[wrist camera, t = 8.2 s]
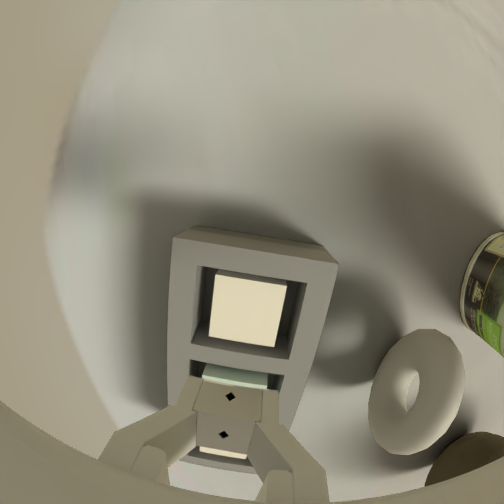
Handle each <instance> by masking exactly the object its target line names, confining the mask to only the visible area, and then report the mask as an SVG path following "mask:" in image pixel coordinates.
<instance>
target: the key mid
mask: <svg viewBox="0 0 504 504" xmlns="http://www.w3.org/2000/svg"><path fill="white" fill-rule="evenodd" d="M202 378H203V379H208V380H213V381H217V382H222V383H227V384H232V385H238V386H244V387H251V388H258V389H267V379H268V373H265V372H258V371H251V370H244V369H238V368H232V367H227V366H221V365H216V364H211V363H206V366H205V369H204V371H203V374H202Z"/></svg>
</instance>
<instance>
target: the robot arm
mask: <svg viewBox="0 0 504 504" xmlns="http://www.w3.org/2000/svg"><path fill="white" fill-rule="evenodd" d="M196 446H201V447H206V448H212V449H218V450H223V451H229V452H234V453H240V454H246V455H247V457H248V459H249V461H250V462H251V464H252V466H253V467H254V469H255V471H256V472H257V474H258V476H259V477H260V479H261V481H262V482H263V485H262V487H261V489H260V491H259V494H258V496H257V498H256V500H255V501H250V500H241V499H233V498H227V497H220V496H214V495H209V494H204V493H199V492H194V491H190V490H186V489H181V488H177V487H174V486H170V482H169V475H168V467H170V466H171V465H173V464H174V463H175V462H177V461H178V460H179V459H181V458H182V457H183V456H184V455H186V454H187V453H188V452H190V451H191V450H192V449H193V448H195V447H196ZM0 504H504V457H502V458H500V459H498V460H496V461H493V462H491V463H489V464H487V465H485V466H482V467H480V468H478V469H475V470H473V471H470V472H468V473H465V474H463V475H460V476H457V477H454V478H452V479H449V480H446V481H443V482H439V483H436V484H433V485H429V486H426V487H422V488H418V489H414V490H410V491H406V492H402V493H397V494H392V495H387V496H381V497H375V498H368V499H361V500H352V501H341V502H329V494H328V486H327V479H326V471H325V470H324V469H323V467H322V466H321V465H320V464H319V463H318V462H317V461H316V460H315V459H314V458H313V457H312V456H311V455H310V454H309V453H308V452H307V451H306V450H305V449H304V447H303V446H302V445H301V444H300V443H299V442H298V441H297V440H296V439H295V438H294V436H293V435H292V434H291V433H290V432H289V431H288V430H287V429H286V427H285V426H284V425H279V399H278V391H277V390H269V389H258V388H251V387H244V386H238V385H232V384H227V383H222V382H217V381H213V380H208V379H203V378H199V377H194V376H190V375H189V376H188V377H187V379H186V381H185V384H184V386H183V388H182V391H181V393H180V395H179V398H178V400H177V402H176V405H175V406H172V405H170V406H168V407H166V408H164V409H162V410H160V411H158V412H156V413H154V414H152V415H150V416H148V417H146V418H144V419H142V420H140V421H137V422H135V423H133V424H131V425H129V426H127V427H124V428H122V429H120V430H118V431H115V432H114V434H113V435H112V437H111V439H110V440H109V442H108V444H107V445H106V447H105V449H104V450H103V452H102V454H101V455H100V457H99V459H95V458H93V457H91V456H89V455H87V454H85V453H83V452H81V451H79V450H77V449H75V448H73V447H71V446H69V445H67V444H65V443H64V442H62V441H60V440H58V439H56V438H55V437H53V436H51V435H50V434H48V433H46V432H44V431H43V430H41V429H40V428H38V427H37V426H35V425H34V424H32V423H31V422H29V421H28V420H26V419H25V418H23V417H22V416H20V415H19V414H17V413H16V412H15V411H13V410H12V409H11V408H9V407H8V406H7V405H5V404H4V403H3V402H1V401H0Z"/></svg>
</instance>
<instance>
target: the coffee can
mask: <svg viewBox="0 0 504 504" xmlns="http://www.w3.org/2000/svg"><path fill="white" fill-rule="evenodd" d="M460 311H461V316H462V319H463V322H464V324H465V325H466V327H467V328H469V329H470V330H471V331H473V332H475V333H476V334H477V335H478V336H480V337H481V338H482V339H483V340H484V341H486V342H487V343H488V344H489V345H490V346H491V347H493V348H494V349H495V350H496V351H497V352H498V353H499V354H501V355H502V356H503V357H504V232H498V233H495V234H493V235H491V236H489V237H488V238H487V239H486V240H485V241H484V242H483V243H482V244H481V245H480V246H479V247H478V249H477V251H476V252H475V253H474V255H473V257H472V259H471V261H470V263H469V265H468V267H467V270H466V273H465V276H464V279H463V283H462V287H461V294H460Z"/></svg>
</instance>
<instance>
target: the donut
mask: <svg viewBox="0 0 504 504" xmlns="http://www.w3.org/2000/svg"><path fill="white" fill-rule="evenodd" d="M417 373H418V374H419V378H420V385H419V392H418V395H417V398H416V401H415V403H414V405H413V407H412V409H411V410H410V411H409V412H408V411H407V405H406V400H407V393H408V390H409V387H410V384H411V382H412V380H413V378H414V377H415V375H416V374H417ZM464 381H465V370H464V365H463V361H462V356H461V353H460V352H459V350H458V349H457V347H456V345H455V344H454V342H453V341H452V339H451V338H450V337H448V336H446V335H445V334H443V333H441V332H439V331H438V330H436V329H418V330H415V331H413V332H411V333H409V334H407V335H405V336H403V337H402V338H401V339H400V340H399V341H398V342H397V343H396V344H395V345H394V346H393V347H391V348H390V350H389V351H388V353H387V354H386V356H385V357H384V359H383V360H382V362H381V364H380V366H379V368H378V370H377V372H376V375H375V378H374V381H373V384H372V387H371V392H370V397H369V403H368V420H369V425H370V430H371V433H372V435H373V436H374V438H375V440H376V442H377V444H378V445H380V446H381V447H382V448H384V449H385V450H386V451H388V452H389V453H392V454H400V455H411V454H414V453H417V452H419V451H422V450H424V449H427V448H428V447H430V446H431V445H432V444H433V443H434V442H436V441H437V440H438V439H439V438H440V437H441V436H442V435H443V434H445V432H446V431H447V429H448V428H449V426H450V425H451V423H452V422H453V420H454V418H455V417H456V415H457V412H458V409H459V406H460V403H461V400H462V397H463V394H464Z"/></svg>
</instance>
